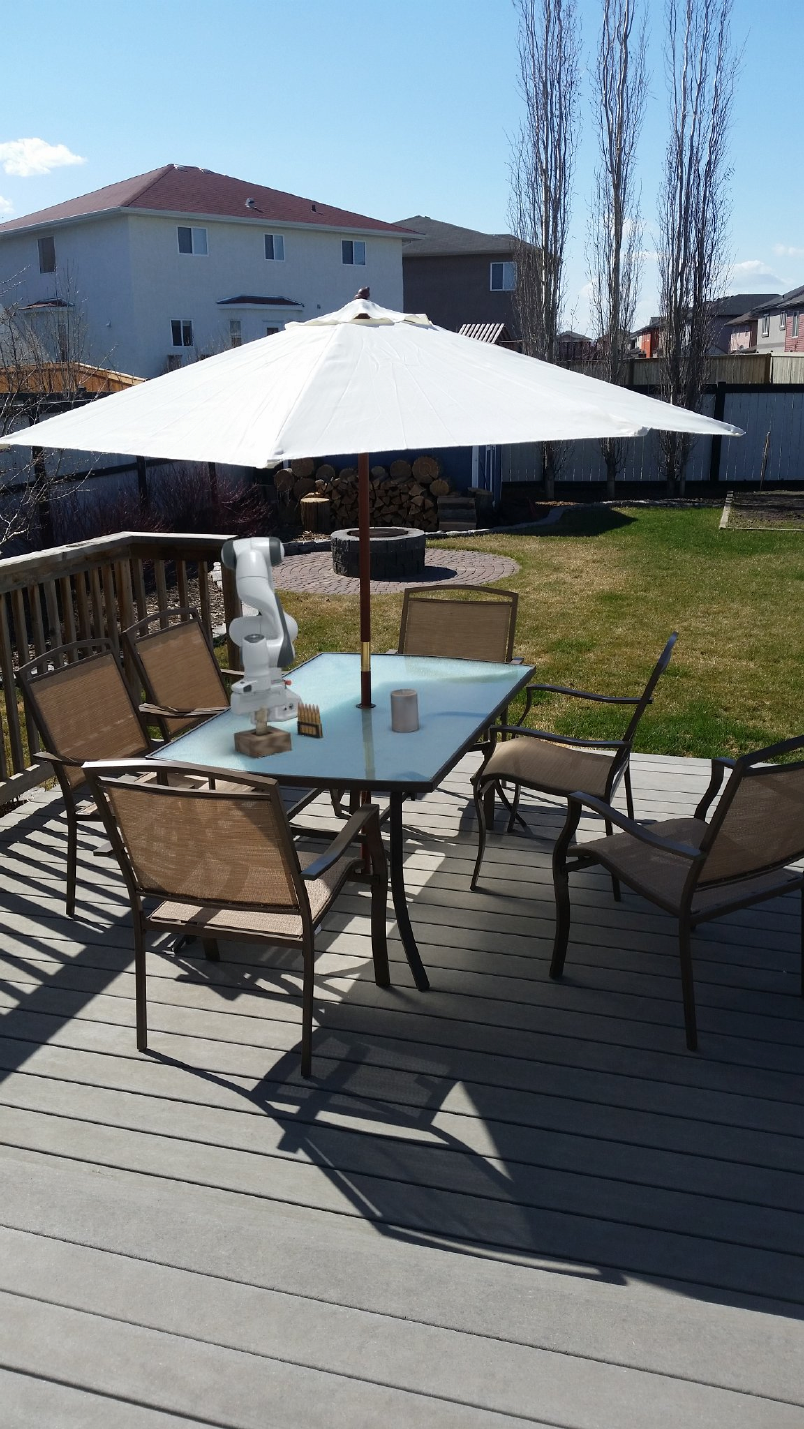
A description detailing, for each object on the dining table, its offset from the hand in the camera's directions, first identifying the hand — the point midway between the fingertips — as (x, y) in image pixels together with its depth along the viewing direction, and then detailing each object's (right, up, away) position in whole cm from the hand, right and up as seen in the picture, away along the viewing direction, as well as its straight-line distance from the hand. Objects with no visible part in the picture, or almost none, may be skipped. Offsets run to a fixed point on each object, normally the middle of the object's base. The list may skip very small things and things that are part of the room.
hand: (261, 722), depth 362 cm
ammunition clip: (+15, -5, +17) cm, 24 cm away
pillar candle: (+49, -3, +20) cm, 53 cm away
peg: (0, -4, +1) cm, 4 cm away
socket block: (0, -9, +3) cm, 10 cm away
